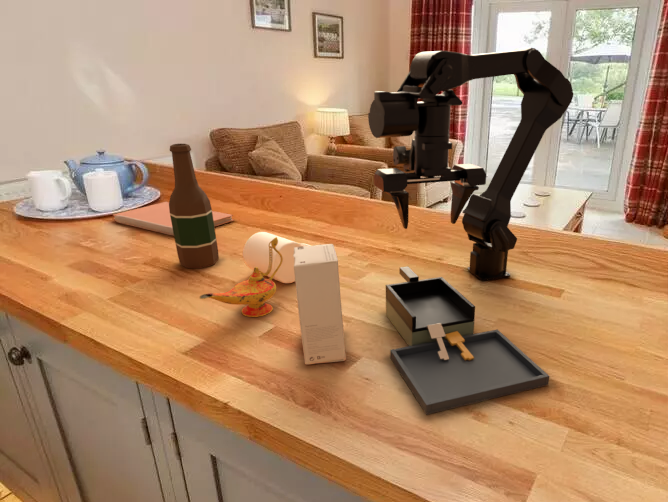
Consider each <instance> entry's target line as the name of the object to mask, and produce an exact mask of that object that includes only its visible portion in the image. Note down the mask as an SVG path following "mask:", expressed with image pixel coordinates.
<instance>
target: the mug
mask: <svg viewBox="0 0 668 502" xmlns="http://www.w3.org/2000/svg"><path fill="white" fill-rule="evenodd" d="M276 237H277V239H278V244H277V245H276V247H275V248H276V249H277V250H278V251H279V252H280V253H281V255H282V258H283V261H282V264H281V266H280V267H279V269H278V271H277V272H276V274H275V275H274V277H273V278H272V280H275V281H278V282H279V283H283V284H291V283H292V284H293V283H295V274H294V257H293V255H294V248H295V247H303V246H311V245H310V244H308V243H303V242H297V241H294V240H292V239H287V238H285V237H283V236H279V235H276V234H274V233H270V232H267V231H257V232H255V233H253V234H252V235H251V236H250V237H249V238H248V239H247V240H246V242H245V243H244V246H243V249H242V258H243V262H244V263H245V265H246V266H247V267H248V269H250V270H251V271H254V268H255V267H258V269H259V271H261V272H263V273H265V272H267V270H269V269H271V271H269V272H270V273H269V274H268V275H267V274H266V275H267V276H266V277H268V278H270V277H271V276H272V274H273V273H274V272H275V270H276V269H277V267H278V266H279V264H280V261H281V257H280V255H279V254H278V253H277V252H276V251H275V250H274V249H273V248H270V249H272V251H270V252H272V253H273V254H272V253H271V254H272V256H273V257H272V256H270V257H272V258H273V259H272V258H270V259H272V261H271V262H272V268H269V269H268V266H269V243H270V242H271V241H272V240H273V239H274V238H276ZM270 246H271V247H272V245H271V243H270ZM269 267H270V266H269ZM261 272H260V273H261Z"/></svg>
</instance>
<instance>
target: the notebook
mask: <svg viewBox="0 0 668 502" xmlns="http://www.w3.org/2000/svg"><path fill="white" fill-rule="evenodd" d="M212 214H213V221H214V227H218V226H221V225H224V224H227V223H230V222H233V221H235V219H233V218H232V217H234V214H230V213H226V212H219V211H214V210H212ZM112 216H113V221H115V222H116V223H118V224H123V225H126V226H131V227H135V228H138V229H139V228H140V229H143V230H147V231H152V232H155V233H160V234H164V235H167V236H173V237H174V233H173V228H172V222H171V217H170V211H169V201H164V202H159V203H155V204H151V205H146V206H143V207H138V208H135V209H131V210H127V211H122V212H119V213H113V214H112Z"/></svg>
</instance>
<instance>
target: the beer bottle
mask: <svg viewBox="0 0 668 502" xmlns="http://www.w3.org/2000/svg"><path fill="white" fill-rule="evenodd" d="M191 151H192V148H191V145H190V144H187V143H174V144H170V145H169V152H170V153H171V157H172V166H173V177H174V188H173V190H172V191H171V194H170V196H169V200H168V202H169V211H170V217H171V222H172V228H173V233H174V234H173V235H174V236H173V237H174V243H175V248H176V254H177V258H178V261H179V264H180V265H181V266H182V267H184V268H186V269H202V268H206V267H210V266H214V265H215V264H216V263H217V262H218V261H219V259H220V256H219V246H218V241H217V234H216V228H215V227H216V226H215V227H214V221H213V214H212V211H213V209H212V204H211V200H210V199H209V197H208V195H207V194H206V192H205V191H204V189H202V188H201V187H200V185H199V183H198V180H197V176H196V171H195V168H194V163H193V160H192V159H193V158H192V155H191Z"/></svg>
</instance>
